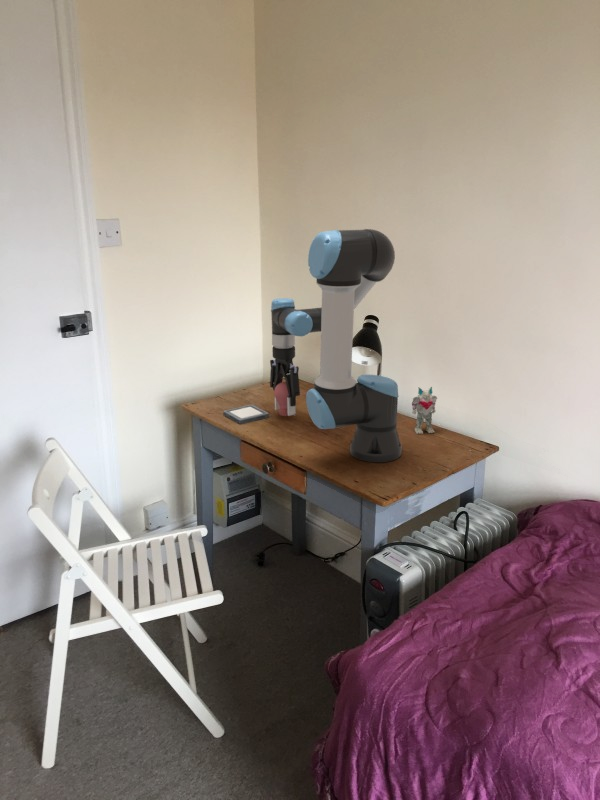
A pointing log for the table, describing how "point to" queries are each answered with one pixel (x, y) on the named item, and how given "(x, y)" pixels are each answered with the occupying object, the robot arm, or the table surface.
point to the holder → (246, 414)
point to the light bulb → (282, 397)
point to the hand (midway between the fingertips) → (285, 411)
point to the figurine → (424, 409)
